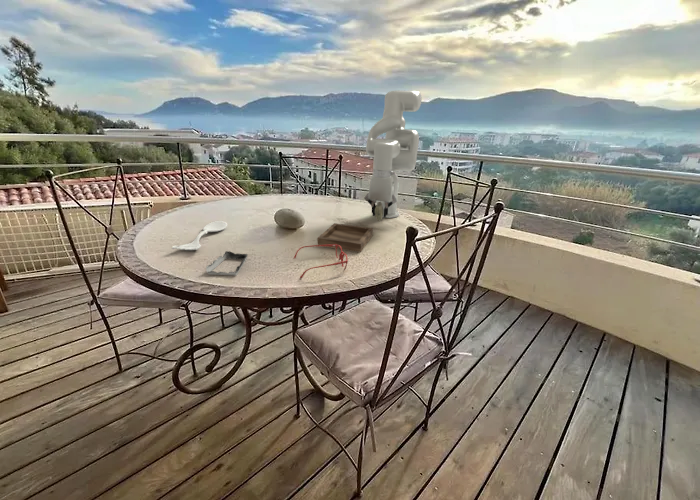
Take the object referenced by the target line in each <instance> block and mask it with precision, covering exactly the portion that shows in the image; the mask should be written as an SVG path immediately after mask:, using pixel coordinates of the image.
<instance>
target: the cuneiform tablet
mask: <svg viewBox="0 0 700 500" xmlns="http://www.w3.org/2000/svg"><path fill="white" fill-rule="evenodd" d="M382 216H383V206H382V202H378V201H377V203H376V207H375V217H376V221H379V222H380V221H381V222H382V219H383V217H382Z"/></svg>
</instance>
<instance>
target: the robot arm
mask: <svg viewBox="0 0 700 500" xmlns="http://www.w3.org/2000/svg"><path fill="white" fill-rule="evenodd" d="M422 99H423V98H422V93H421V92H420V91H419V90H390V91H388V92H386V94H385V96H384V108H383V114H382V118H381V119H379V120H378V121H377V122H376V123H375V124H374V125H373V126H372V127H371V128H370V130H369V132H368V135H367V141H366V144H365V151H366V154H367V156H369V157H370V158H371V157H372V158H373V165H372V166H373V167H372V169H373V170H372V175H371V177H370V181H369V188H368V192H367V194H366V195H365V196H364V200H365V201H367V202H368V204H369V205H370V207H371V214H372V216H373V217H374V216H375V217H376V215H375V207H376V205H377V203H378V202H382V206H383V216H382V218H385V219H389V218H390V219H392V218H397V217H399V216H400V212H399V211H398V210H397V208H398V197H399V196H398V195H399V183H400V178H399V176H398V175H397V173H396V171H399V172H401V171H402V172H412V171H413V170H414V169H415V167H416V164H417V157H418V150H419V142H420V139H419V138H420V135H419V133H418V131H417V130H415V129H406V120H405V118H404V112H405V113H406V112H410V113H411V112H412V113H414V112H418V111H419V109H420V108H421V105H422ZM383 134H385V138H378V137H380V136H381V135H383ZM376 202H377V203H376Z"/></svg>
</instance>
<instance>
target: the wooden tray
mask: <svg viewBox="0 0 700 500" xmlns="http://www.w3.org/2000/svg"><path fill="white" fill-rule="evenodd" d="M373 234H374V228H373V227H366V226H360V225H359V226H358V225H353V224H352V225H351V224H345V223H344V224H343V223H336V222H334V223H333V224H332V225H330V227H328V228H327V229H325V231H324V232H323V233H321V234H320V235H319V236H318V237H317V245H327V244H337V245H340V246H341V248H342V251H343V250H344V251H350V252H358V253H361V252H362V251H363V250H364V249H365V247H366V245H367V244H368V243H369V241H370V240H371V238H372V237H373V236H374V235H373ZM322 247H324V248H331V249H336V246H321V248H322ZM341 248H340V247H339V246H338V247H337V250H341Z"/></svg>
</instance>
